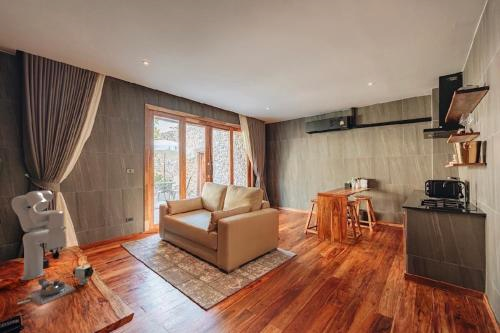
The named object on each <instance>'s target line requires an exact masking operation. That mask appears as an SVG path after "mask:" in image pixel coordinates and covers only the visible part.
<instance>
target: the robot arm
mask: <svg viewBox="0 0 500 333" xmlns="http://www.w3.org/2000/svg"><path fill="white" fill-rule="evenodd" d="M53 198H54V194H53V193H52V191H50V190H33V191H29V192H27V193H26V194H22V195H18V196H15V197H14V198H12V200H11V208H12V210H13V211H14V213H15V214H16V215H17V217H18V219H19V220H18V221H19V223H20V226H21V229H22V231H23V232H26V233H25V234H23V237H22V244H23V247H24V248H23V249H24V250H23V253H24V257H23V260H24V261H23V262H24V263H23V275H22V276H20V280H21V281H30V280H34V279H38V278H41V277H43V276H45V275H46V274H47V272H46V270H44V252H46V253H49V252H50V253H51V258H52V259H54V260H57V259H59V257H60V252H61V250H62V249H64V248H66V247H67V236H66V232H65V230H67V226H64V224H65V212H64V211H63V210H62V211H61V210H59V209H53V210H51V209H50V210H45V209H47V208H48V207H49V204H50V202H52V200H53ZM29 207H30V208H29ZM44 210H45V211H44ZM40 244H44V246H43V247H42V246H41V245H40Z"/></svg>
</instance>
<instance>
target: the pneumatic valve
mask: <svg viewBox="0 0 500 333" xmlns="http://www.w3.org/2000/svg"><path fill="white" fill-rule="evenodd" d="M94 272H95V270H94V268H93V265H88V264H87V265H84V264H83V265H82V264H81V265H78V266H76V267H74V269H73V271H72V274H73V276H74V278H75V279H78V285H79V286H84V285H86V284H88V282H89V280H88V278H91V277H92V276H93V274H94Z"/></svg>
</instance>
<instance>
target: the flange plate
mask: <svg viewBox="0 0 500 333" xmlns="http://www.w3.org/2000/svg"><path fill="white" fill-rule="evenodd" d="M75 291H76V287H73V286H72V285H69V284H67V283H65V289H64V290H62V291H61V292H59V293H56V294H53V295H49V296H41V295H40V290H39V291H36V292H32V293H30V294H29V295H28V298H29V299H24V300H21V301H19V302H17V303H16V304H17V306H18V305H22V304H25V303H28V302H31V300H32V301H34V302H35V303H37V304H40V305H45V304H47V303H49V302H51V301H54V300H56V299H59V298H61V297H63V296H66V295H68V294H70V293H73V292H75Z"/></svg>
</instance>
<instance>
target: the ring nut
mask: <svg viewBox="0 0 500 333" xmlns="http://www.w3.org/2000/svg"><path fill="white" fill-rule="evenodd" d="M37 284H38V286H39V285H40V286H41V288H40V289H39V291H40V295H41V296H49V295H53V294H56V293H59V292H61V291H62V290H64V289H65V284H66V283H65V282H64V281H60V279H55V280H54V281H53V283H52V281H50V280H47V278H43V277H42V278H40V279H38V281H37Z"/></svg>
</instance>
